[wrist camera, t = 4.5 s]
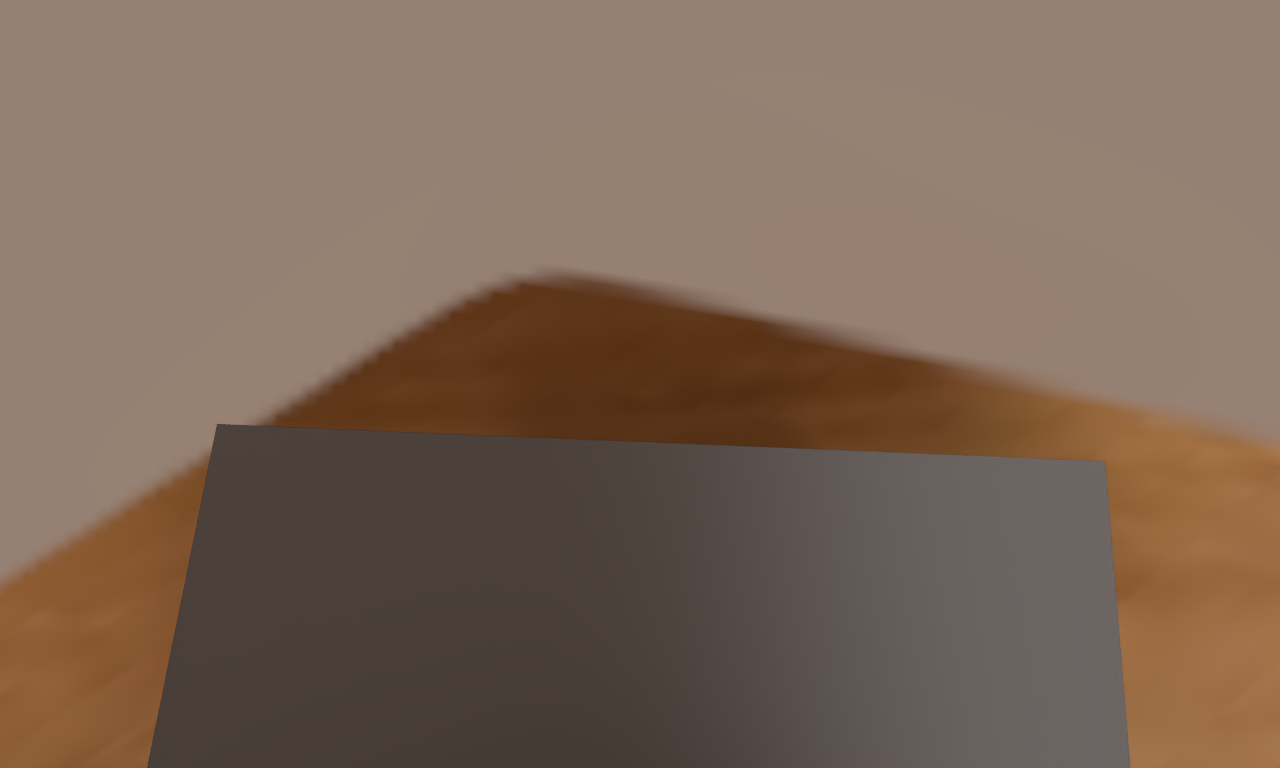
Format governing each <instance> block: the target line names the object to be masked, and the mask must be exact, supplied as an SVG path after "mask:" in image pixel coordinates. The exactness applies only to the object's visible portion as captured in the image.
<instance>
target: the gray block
mask: <svg viewBox="0 0 1280 768" xmlns="http://www.w3.org/2000/svg"><path fill="white" fill-rule="evenodd" d="M147 768H1130V757H1129V745H1128V733H1127V721H1126V709H1125V697H1124V684H1123V672H1122V660H1121V648H1120V636H1119V624H1118V611H1117V599H1116V587H1115V575H1114V563H1113V550H1112V538H1111V526H1110V514H1109V502H1108V490H1107V477H1106V465H1105V461H1088V460H1064V459H1040V458H1016V457H992V456H968V455H944V454H920V453H896V452H872V451H848V450H824V449H800V448H776V447H752V446H728V445H704V444H680V443H657V442H633V441H609V440H585V439H561V438H537V437H513V436H489V435H465V434H441V433H417V432H393V431H369V430H345V429H321V428H297V427H273V426H249V425H225V424H217V427H216V432H215V437H214V442H213V447H212V452H211V457H210V462H209V467H208V472H207V477H206V482H205V487H204V491H203V496H202V501H201V506H200V511H199V516H198V521H197V526H196V531H195V536H194V541H193V546H192V550H191V555H190V560H189V565H188V570H187V575H186V580H185V585H184V590H183V595H182V600H181V605H180V609H179V614H178V619H177V624H176V629H175V634H174V639H173V644H172V649H171V654H170V659H169V664H168V668H167V673H166V678H165V683H164V688H163V693H162V698H161V703H160V708H159V713H158V718H157V723H156V727H155V732H154V737H153V742H152V747H151V752H150V757H149V762H148V767H147Z"/></svg>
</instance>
